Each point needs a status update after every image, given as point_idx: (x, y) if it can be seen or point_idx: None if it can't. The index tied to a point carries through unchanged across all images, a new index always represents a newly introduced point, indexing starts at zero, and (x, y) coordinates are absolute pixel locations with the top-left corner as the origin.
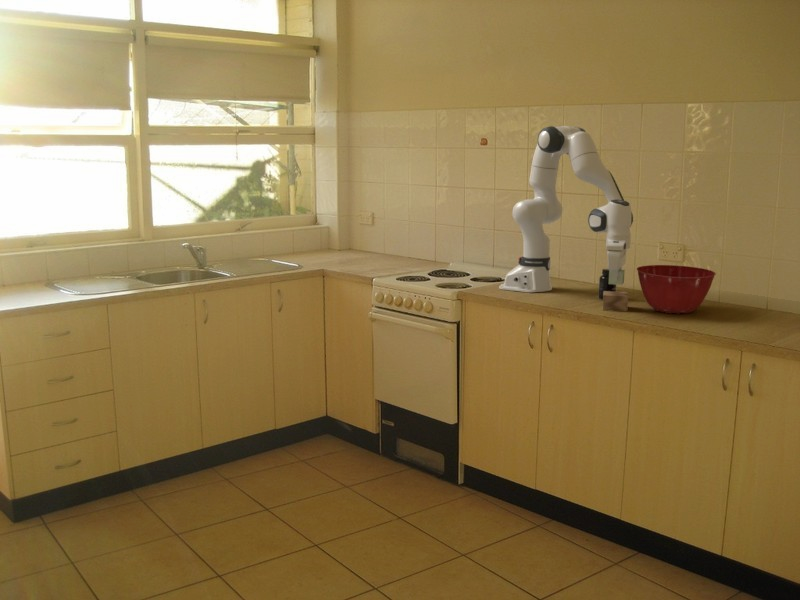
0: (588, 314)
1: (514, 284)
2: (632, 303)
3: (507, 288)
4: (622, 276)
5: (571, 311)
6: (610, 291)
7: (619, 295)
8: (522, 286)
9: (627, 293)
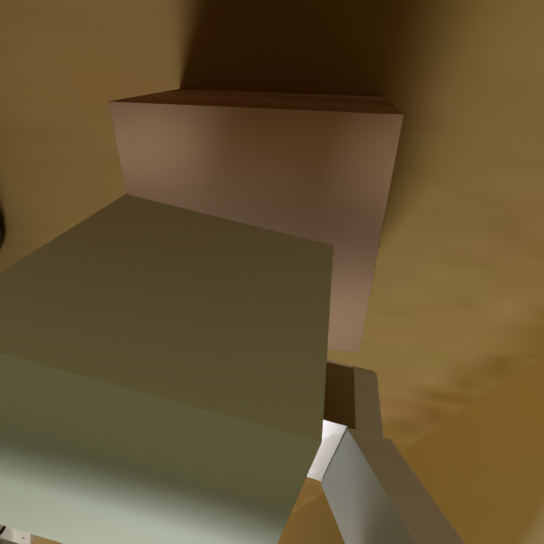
0: (500, 371)
1: (2, 536)
2: (22, 20)
3: (31, 535)
4: (323, 336)
5: (406, 429)
6: None
7: (356, 215)
8: None
9: (205, 107)
